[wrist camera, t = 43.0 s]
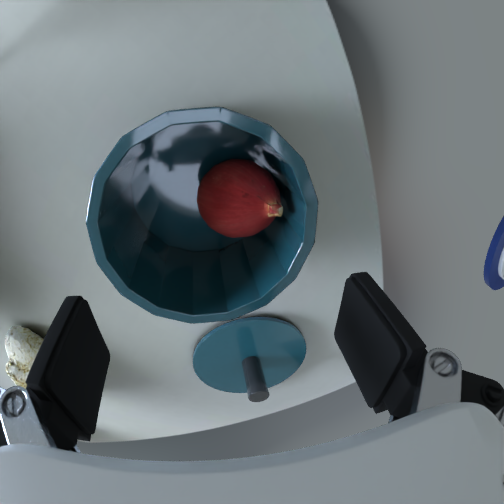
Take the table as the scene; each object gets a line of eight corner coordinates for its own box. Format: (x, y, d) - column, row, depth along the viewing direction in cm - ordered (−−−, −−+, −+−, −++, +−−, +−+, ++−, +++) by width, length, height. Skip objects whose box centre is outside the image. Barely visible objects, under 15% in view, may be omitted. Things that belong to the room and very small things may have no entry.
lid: (309, 305, 33) (330, 345, 27) (297, 378, 40) (310, 413, 34) (184, 319, 31) (183, 365, 25) (200, 391, 38) (204, 429, 32)
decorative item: (91, 398, 30) (43, 422, 26) (80, 354, 36) (37, 378, 32) (35, 346, 22) (-15, 377, 19) (35, 301, 29) (-10, 331, 25)
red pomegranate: (213, 142, 22) (292, 145, 17) (242, 191, 26) (316, 208, 21) (164, 191, 20) (236, 210, 15) (202, 238, 24) (273, 269, 19)
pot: (278, 107, 22) (323, 108, 14) (275, 249, 28) (306, 310, 20) (117, 119, 20) (70, 128, 12) (138, 261, 26) (118, 328, 18)
